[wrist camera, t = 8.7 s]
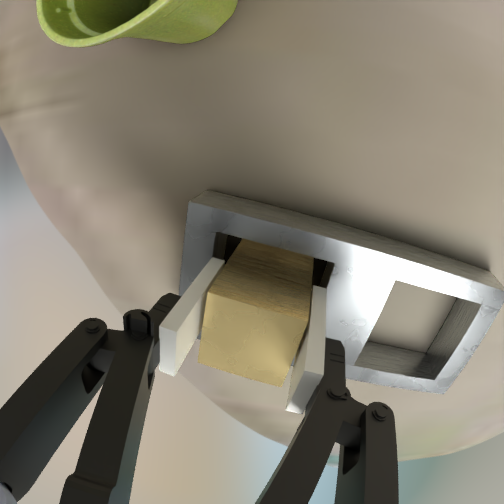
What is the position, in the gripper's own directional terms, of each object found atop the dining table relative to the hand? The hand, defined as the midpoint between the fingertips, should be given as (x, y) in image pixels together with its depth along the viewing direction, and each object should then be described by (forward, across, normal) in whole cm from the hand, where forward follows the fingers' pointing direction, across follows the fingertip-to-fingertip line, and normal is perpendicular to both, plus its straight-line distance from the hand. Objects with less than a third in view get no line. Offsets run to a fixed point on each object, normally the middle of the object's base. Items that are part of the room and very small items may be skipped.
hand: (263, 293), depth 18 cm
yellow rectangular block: (+3, 0, 0) cm, 3 cm away
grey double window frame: (+3, +5, 0) cm, 6 cm away
